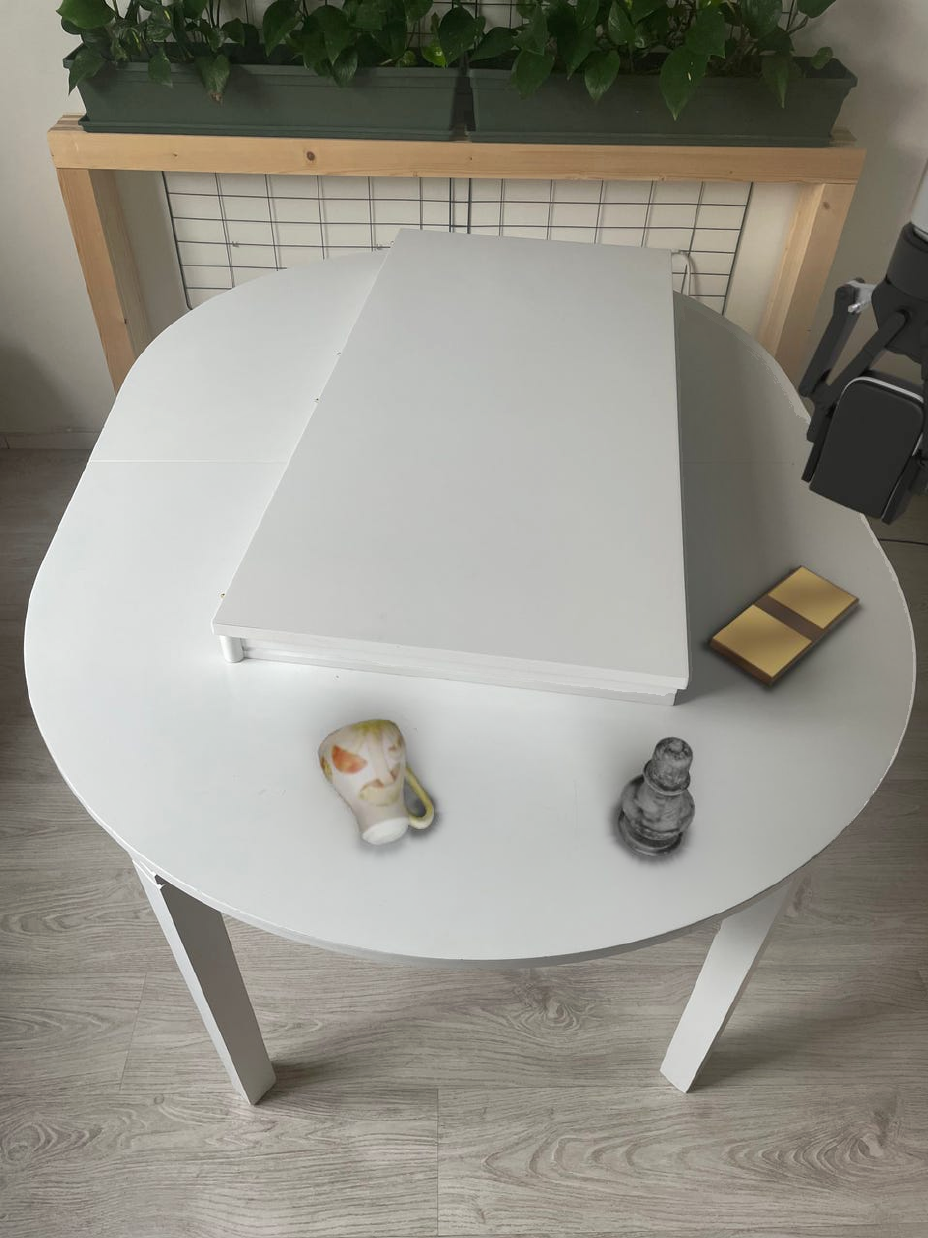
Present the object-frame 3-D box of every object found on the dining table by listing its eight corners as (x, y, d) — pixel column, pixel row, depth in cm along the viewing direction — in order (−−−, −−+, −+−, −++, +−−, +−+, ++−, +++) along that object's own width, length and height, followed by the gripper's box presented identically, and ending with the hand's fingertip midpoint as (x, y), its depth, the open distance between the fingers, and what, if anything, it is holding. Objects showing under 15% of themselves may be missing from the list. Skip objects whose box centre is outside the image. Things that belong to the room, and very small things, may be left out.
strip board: (856, 607, 95) (860, 598, 94) (769, 686, 87) (772, 677, 86) (797, 572, 99) (801, 563, 98) (708, 646, 91) (711, 637, 90)
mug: (353, 876, 73) (306, 772, 69) (349, 811, 82) (307, 716, 78) (443, 842, 73) (400, 736, 69) (428, 782, 82) (390, 685, 78)
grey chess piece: (669, 872, 73) (701, 785, 65) (602, 836, 75) (625, 748, 67) (697, 818, 77) (730, 729, 68) (632, 786, 79) (657, 695, 70)
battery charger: (897, 503, 80) (950, 387, 72) (880, 524, 78) (933, 407, 70) (821, 471, 83) (864, 356, 75) (803, 491, 81) (845, 375, 73)
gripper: (805, 201, 67) (731, 460, 83) (1087, 300, 57) (940, 573, 74) (858, 176, 71) (777, 429, 87) (1131, 265, 61) (982, 532, 77)
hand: (852, 494), depth 80 cm, fingers closed on battery charger, 7 cm apart
